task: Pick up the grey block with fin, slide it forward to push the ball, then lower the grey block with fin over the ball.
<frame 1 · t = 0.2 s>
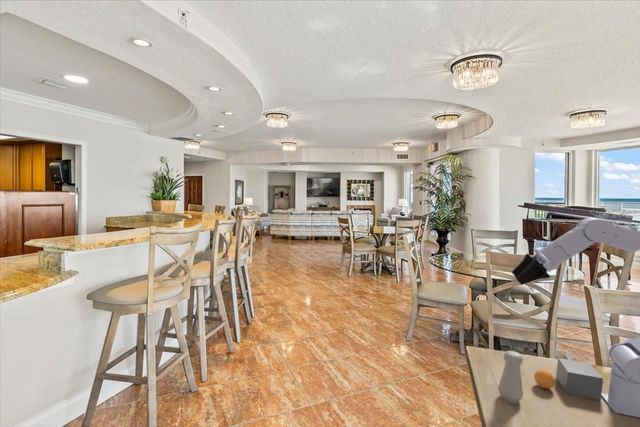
hand: (516, 278, 94), 31 cm above the table, tool tilted 45°, fingers open, 7 cm apart
salt shaker: (509, 400, 89), on the table
ball: (544, 378, 95), on the table
grey block with fin: (577, 388, 95), on the table
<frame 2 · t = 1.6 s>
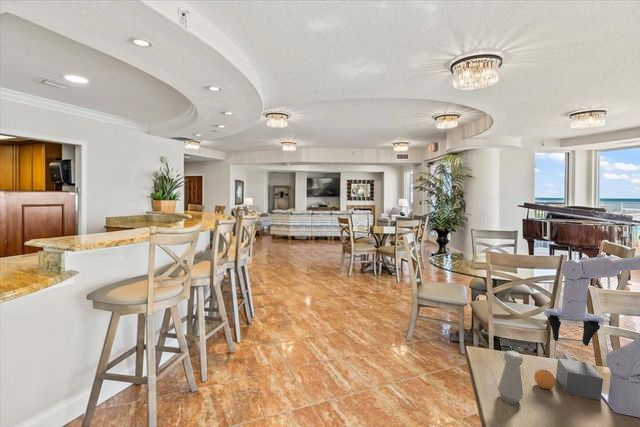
hand: (570, 341, 101), 10 cm above the table, tool pointing down, fingers open, 7 cm apart
nothing on the table moved.
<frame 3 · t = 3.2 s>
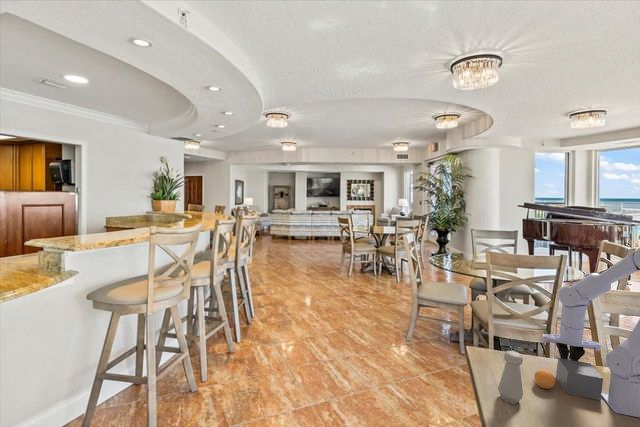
hand: (567, 367, 102), 2 cm above the table, tool pointing down, fingers closed on grey block with fin
grey block with fin: (577, 388, 95), on the table, touching gripper
everything else where it was.
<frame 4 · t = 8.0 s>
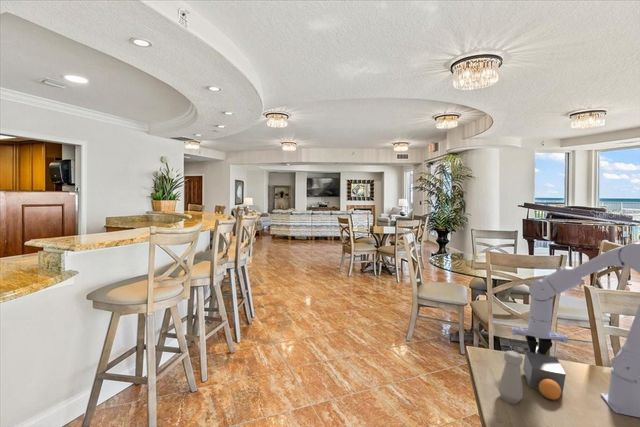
hand: (536, 360, 103), 3 cm above the table, tool pointing down, fingers closed on grey block with fin
ball: (549, 389, 90), on the table
grey block with fin: (541, 381, 97), point 1 cm above the table, tilted 7°, touching gripper
everything else where it was.
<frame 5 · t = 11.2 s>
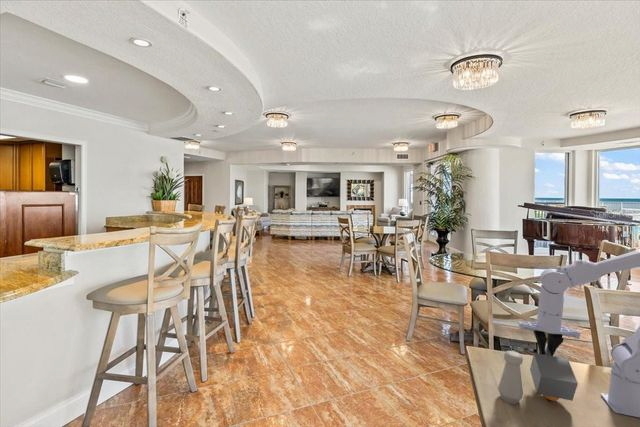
hand: (545, 357, 95), 9 cm above the table, tool pointing down, fingers closed on grey block with fin
ball: (550, 389, 90), on the table, touching grey block with fin
grey block with fin: (550, 384, 90), point 4 cm above the table, tilted 19°, touching ball, gripper
everything else where it was.
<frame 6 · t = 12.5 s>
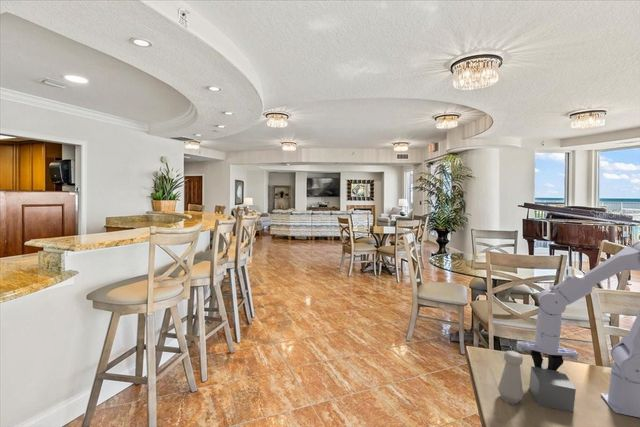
hand: (543, 377, 96), 2 cm above the table, tool pointing down, fingers closed
ball: (550, 389, 90), on the table
grey block with fin: (550, 399, 90), on the table
everything else where it was.
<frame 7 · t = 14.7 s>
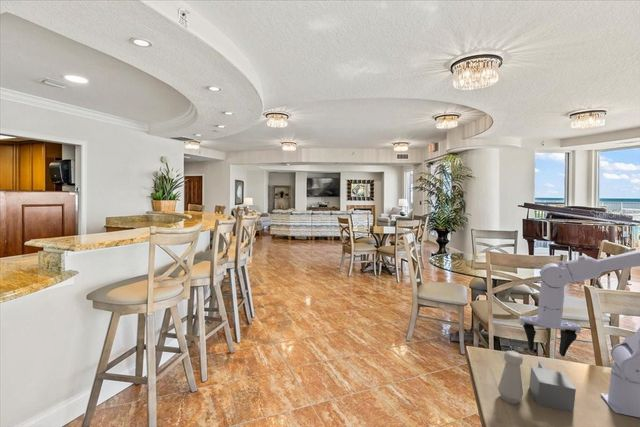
hand: (546, 352, 95), 10 cm above the table, tool pointing down, fingers open, 7 cm apart
nothing on the table moved.
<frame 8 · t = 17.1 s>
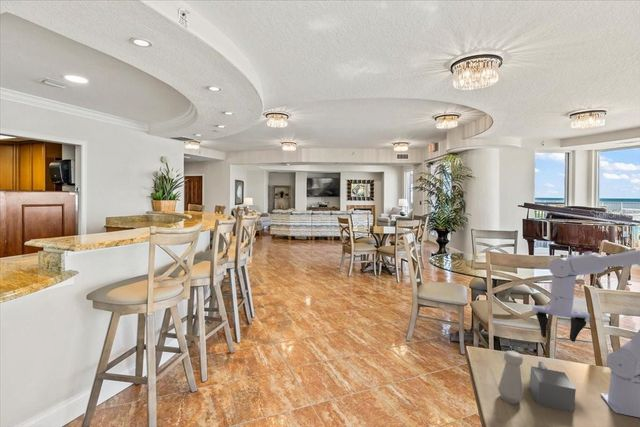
hand: (557, 338, 103), 10 cm above the table, tool pointing down, fingers open, 7 cm apart
nothing on the table moved.
at the end: ball 0.2 cm from the grey block with fin (horizontally); grey block with fin on the table; ball moved 5.5 cm from its start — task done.
